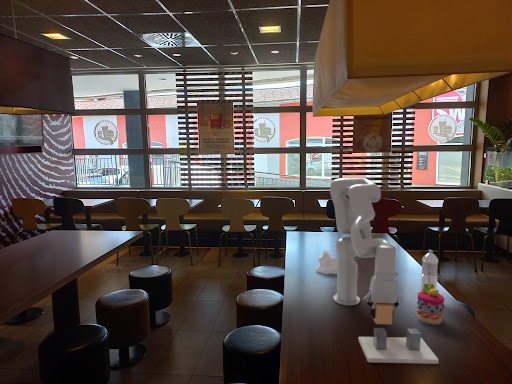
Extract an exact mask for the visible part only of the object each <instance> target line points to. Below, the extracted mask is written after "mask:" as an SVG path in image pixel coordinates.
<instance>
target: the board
mask: <svg viewBox="0 0 512 384" xmlns="http://www.w3.org/2000/svg"><path fill="white" fill-rule="evenodd" d="M373 339H374V336H358V343H359V345H360V346H361V350H362V351H363V355H364V356H365V358H366V361H367V362H368V363H386V364H387V363H389V364H390V363H393V364H431V365H432V364H433V365H434V364H435V365H437V364H438V365H439V362H440V361H439V358H438V357H437V355H436V354H435V353H434V351H432V349H431V348H430V346H428V344H427V343H426V342H425V340H424V339H423V338H422V337H421V340H420V351H410V350H409V349H408V347H407V346H406V337H401V336H400V337H399V336H398V337H395V336H394V337H391V336H387V343H386V350H376V349H375V347H374V345H373Z"/></svg>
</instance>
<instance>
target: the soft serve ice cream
mask: <svg viewBox="0 0 512 384" xmlns="http://www.w3.org/2000/svg"><path fill="white" fill-rule="evenodd" d="M318 262H319V264H318V266H317V267H316V269H315V271H316V272H315V273H318V274H321V275H322V274H323V275H337V258H335V257H334V256H332V254H331V253H330V252H329V251H328V250H326V249H325V250H323V253H322V254H321V256H319V257H318Z"/></svg>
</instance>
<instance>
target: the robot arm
mask: <svg viewBox="0 0 512 384" xmlns="http://www.w3.org/2000/svg"><path fill="white" fill-rule="evenodd" d="M329 194H330V197H331V200H332V203H333V206H334V213H335V221H336V222H335V223H336V229H337V232H338V233H339V234H341V235H350V236H345V237H340V238H339V239H337V241H336V242H335V251H336V252H335V253H336V259H337V274H336V293H335V294H334V295H333V297H332V299H333V301H334V302H335V303H338V304H339V305H343V306H350V307H351V306H357V305H358V304H360V302H361V298H360V297H359V296H358V295H357V294H358V270H359V269H358V264H357V262H356V261H355V260H354V258H355V257H359V258H362V259H364V258H365V259H367V258H368V259H369V258H375V259H374V275H373V276H372V277H371V279H370V283H369V290H368V293H367V294H366V295H364V297H362V299H363V301H364V303H366V304H367V305H368V306H369V309H370V311H369V314H370V316H371V318H372V317H373V318H372V319H375V306H376V304H377V303H390V304H392V306H393V314H392V318H393V317H394V316H395V315H394V314H395V313H394V312H395V310H396V308H397V307H398V306H399V305H401V304H402V302H404V300H403V298H402V297H401V296H400V295H399V294H398V286H397V285H398V284H397V279H396V277H398V276H399V272H396V262H397V261H396V260H397V248H396V246H395V245H393V244H390V243H389V241H387V240H386V238H385V239H384V238H381V237H380V238H377V237H376V238H373V236H372V228H371V223H370V221H372V220H373V219H375V216H376V212H375V210H374V207H373V204H372V203H377V202H379V201H380V200H381V197H382V192H381V189H380V188H379V186H378V185H377V184H376V183H374V182H373V181H371V180H370V179H367V178H365V177H342V178H336V179H334V180H333V181H331V184H330V186H329ZM347 196H348V197H347ZM369 299H371V300H369Z"/></svg>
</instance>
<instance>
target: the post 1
mask: <svg viewBox="0 0 512 384" xmlns="http://www.w3.org/2000/svg"><path fill="white" fill-rule="evenodd" d="M373 337H374V339H373V345H374V347H375V349H376V350H386V343H387V337H388V333H387V331H386V329H385V327H373Z"/></svg>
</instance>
